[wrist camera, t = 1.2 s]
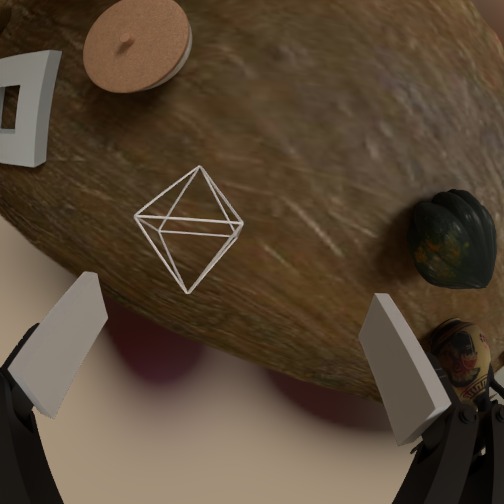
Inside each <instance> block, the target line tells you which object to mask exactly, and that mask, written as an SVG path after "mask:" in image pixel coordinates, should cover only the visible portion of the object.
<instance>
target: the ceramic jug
mask: <svg viewBox="0 0 504 504" xmlns="http://www.w3.org/2000/svg"><path fill="white" fill-rule="evenodd" d="M429 342H431V344H432V346H431V352H430V353H431V354H432V355H433V356H435V357H436V358H437V360H438V361H439V363H440V365H441V367H442V370H444V372H445V374H446V377H448V379H449V381H450V383H451V385H452V387H453V388H454V390H455V392H456V394H457V395H458V396H460V397H462V398H464V399H468V400H470V401H472V402H474V403H475V405H476V406H477V408H478V412H489V411H490V410H491V409H492V408H493V406H495V405H496V404H498V400H493V401H490V398H489V387H491V388H492V389H493V390H495V391H496V392H497V393H499V395H500V396H501V397H502V398H503V399H504V388H503V387H502V386H501V385H499V384H498V383H497V382H496V381H495V379H494V374H493V369H492V366H491V363H490V362H491V359H490V350H489V345H488V342H487V339H486V337H485V335H484V333H483V332H482V330H481V329H480V328H479V327H478V326H477V325H475V324H473V323H470V322H461V320H460V318H453V319H449V320H448V321H446V322H444V323H443V324H441V325H440V326H438V327H437V328H436V329H435V331H434V333H433V334H432V335H431V338H430V341H429Z"/></svg>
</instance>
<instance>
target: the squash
mask: <svg viewBox="0 0 504 504" xmlns="http://www.w3.org/2000/svg"><path fill="white" fill-rule="evenodd" d="M414 220H415V223H413V224H412V225H411V226H410V228H409V229H408V232H407V242H408V247H409V251H410V254H411V256H412V258H413V260H414V263H415V266H416V268H417V270H418V272H419V273H420V274H421V276H422V277H423V278H424V279H425V280H426V281H427V282H429V283H430V284H433V285H435V286H438V287H447V288H450V289H472V288H474V289H480V288H487V287H488V284H489V282H490V280H491V278H492V275H493V271H494V266H495V260H496V254H497V234H496V229H495V225H494V222H493V219H492V217H491V215H490V213H489V212H488V211H487V209H486V208H485V207H484V206H482V205H481V204H480V203H479V201H478V200H477V199H476V198H475V197H473V196H472V195H471V194H470V193H469V192H467V191H464V190H456V189H451V190H449V191H447V192H440V193H438V194H437V195H436V196H435V197H434V198H433V201H432V203H430V202H421V203H419V204H418V205H417V206H416V207H415V208H414Z"/></svg>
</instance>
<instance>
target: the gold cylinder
mask: <svg viewBox="0 0 504 504" xmlns="http://www.w3.org/2000/svg"><path fill="white" fill-rule="evenodd" d="M10 17H11V8H8V7H1V6H0V32H1V31H2V30H3V29H4V28H5V27H6V25H7V24H8V22H9V20H10Z"/></svg>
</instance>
